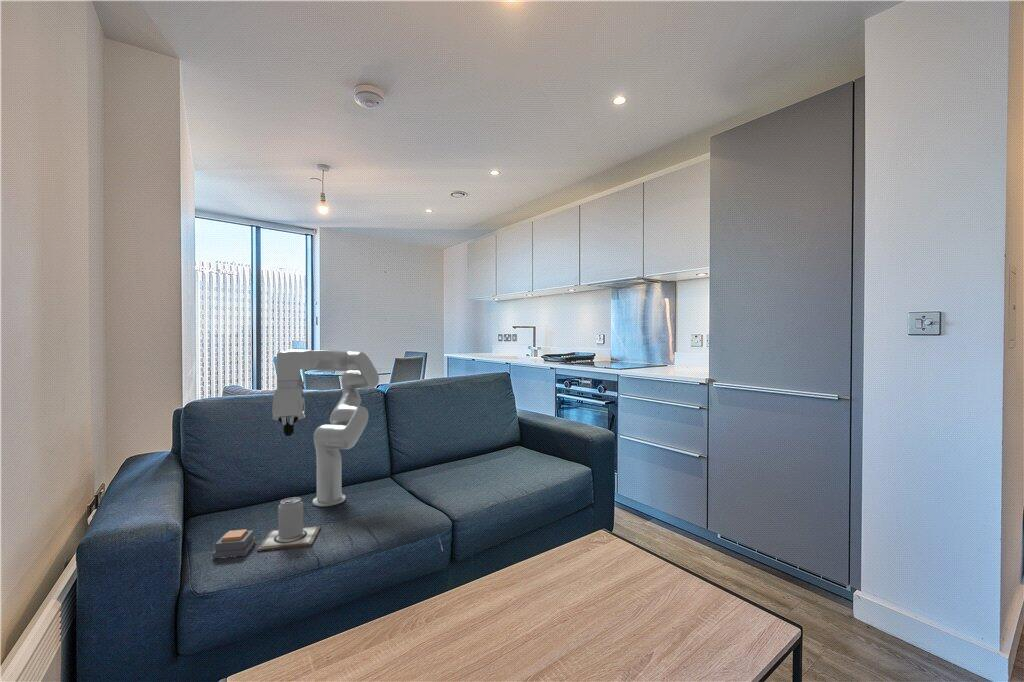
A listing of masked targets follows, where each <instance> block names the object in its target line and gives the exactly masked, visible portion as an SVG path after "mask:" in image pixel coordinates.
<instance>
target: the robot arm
mask: <svg viewBox="0 0 1024 682" xmlns="http://www.w3.org/2000/svg"><path fill="white" fill-rule="evenodd" d="M301 370H302V371H303V370H304V371H306V370H307V371H309V370H311V371H320V372H323V371H324V372H325V371H327V372H334V371H335V372H343V373H342V374H341V379H340V381H341V387H342V395H341V397H340V399H339V401H338V402H337V404H336V405H335V407H334V409H333V410H332V411H331V414H330V416H329V422H330V424H322V425H319V426H318V427H317V428H316V429H315V430H314V432H313V443H314V448H315V455H316V458H315V459H316V497H314V498H313V499H312V505H313V506H316V507H320V508H321V507H324V508H325V507H333V506H337V505H339V504H341V503H344V502H345V501H346V495H345V493H344V494H343V492H342V491H343V490H342V484H343V483H342V454H341V452H340V450H351V449H352V448H353V447H354V446H355V445H356V444H357V442H358V441H359V439H360V437H361V436H362V433H363V432H364V430H365V429H366V427H367V425H368V421H369V411H368V409H367V408H366V407H364V406H362V405H361V403H362V399H361V395H360V394H359V391H358V389H374V388H375V387H377V386H378V384H379V383H380V376H379V373H378V370H377V369H376V367H375V365H374V364H373V362H372V360H371V359H370V358H369V356H368V355H367V354H366V353H365V352H364V351H345V350H343V351H341V350H329V349H325V350H324V349H321V350H320V349H318V350H312V349H287V350H281V351H279V352H277V353H276V388H275V389H274V393H273V397H272V407H271V409H272V411H271V413H272V416H271V417H272V418H271V419H272V420H273V421H279V423H281V424H282V426H283V434H284V435H285V437H291V436H293V434H294V432H295V423H296V422H297V421H299V420H302V419H305V417H306V414H305V411H306V402H305V393H304V390H303V387H301V386H304V385H305V381H304V380H303V381H302V380H301ZM288 417H290V418H288ZM288 419H289V420H288Z"/></svg>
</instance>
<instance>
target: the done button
mask: <svg viewBox="0 0 1024 682" xmlns="http://www.w3.org/2000/svg"><path fill="white" fill-rule="evenodd" d="M247 531H248V529H247V528H246V529H234V530H228V531H227V532H226V533H227V534H226V535H225V536H224V537H223V538H222V542H226V541H238V540H242V539H243V538H244V537H245V536H246V535H247Z"/></svg>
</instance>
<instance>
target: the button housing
mask: <svg viewBox="0 0 1024 682" xmlns="http://www.w3.org/2000/svg"><path fill="white" fill-rule="evenodd" d="M227 533H228V532H225V534H223V535H222V536H221V537H220V539H218V540H217V542H215V544H214V545H215V547H214V551H213V552H212V560H215V559H214V558H221V557H231V556H232V557H233V558H235V557H234V556H243V557H246V556H247V555H248V554H249V552H250V551H251V550H250V548H251V547H252V546H253V545H254V543H255V542H257V541H256V540H257V538H256V536H254V530H253V529H252V530H247V535H246V536H245V537H244V538H243V539H242V540H238V541H226V542H222V538H223V537H224V536H225V535H226V534H227ZM255 544H256V543H255ZM254 546H255V545H254ZM254 546H253V547H254ZM253 547H252V548H253ZM249 550H250V551H249ZM248 551H249V552H248ZM247 553H248V554H247ZM246 554H247V555H246Z"/></svg>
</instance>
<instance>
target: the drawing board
mask: <svg viewBox="0 0 1024 682" xmlns="http://www.w3.org/2000/svg"><path fill="white" fill-rule="evenodd" d="M320 528H322V527H321V525H318V526H317V525H316V526H306V527H304V526H303V532H302V533H301V535H300V536H298V537H296V538H293V539H282V538H281V537H279V536H278V529H272V530H270V531H269V532H268V534H267V535H266V537H265V538H264V539H263V541H262V542H261V543H260V544H259V546H258V547H257V548H256V551H258V550H269V551H273V550H272V549H280V550H288V549H287V548H290V549H299V548H300V549H301V548H309V547H311V548H312V546H313V544H314V542H315V541H316V539H315V538H317V537H316V536H318V535H317V534H319V533H318V532H320V531H319V530H321V529H320Z"/></svg>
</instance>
